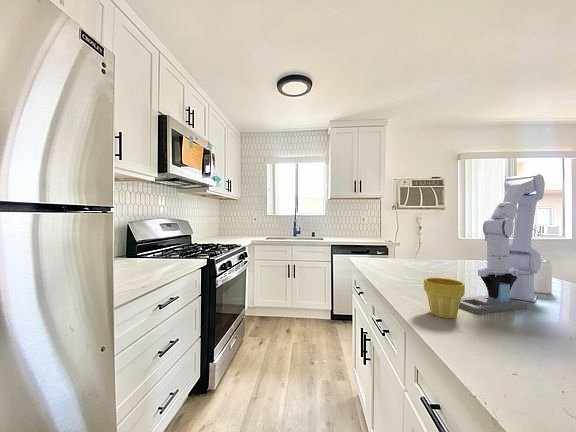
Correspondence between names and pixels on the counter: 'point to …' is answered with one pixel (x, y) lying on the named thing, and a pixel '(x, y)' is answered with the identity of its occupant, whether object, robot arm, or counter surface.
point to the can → (543, 278)
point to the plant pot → (444, 296)
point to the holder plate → (489, 305)
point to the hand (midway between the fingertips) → (498, 297)
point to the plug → (502, 294)
